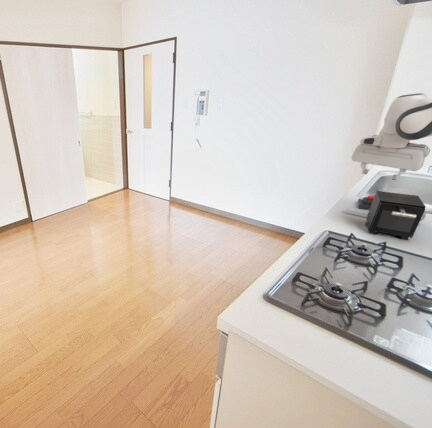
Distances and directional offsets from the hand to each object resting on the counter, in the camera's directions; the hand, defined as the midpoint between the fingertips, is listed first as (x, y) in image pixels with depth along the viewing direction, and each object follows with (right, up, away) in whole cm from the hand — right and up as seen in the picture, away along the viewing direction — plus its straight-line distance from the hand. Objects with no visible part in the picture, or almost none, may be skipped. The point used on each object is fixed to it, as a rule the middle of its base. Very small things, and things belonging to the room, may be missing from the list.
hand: (378, 176), depth 109 cm
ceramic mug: (+17, -18, +8) cm, 26 cm away
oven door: (-1, -23, -6) cm, 24 cm away
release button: (+16, -8, +20) cm, 27 cm away
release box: (+16, -12, +22) cm, 29 cm away
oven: (+5, -21, +2) cm, 22 cm away
